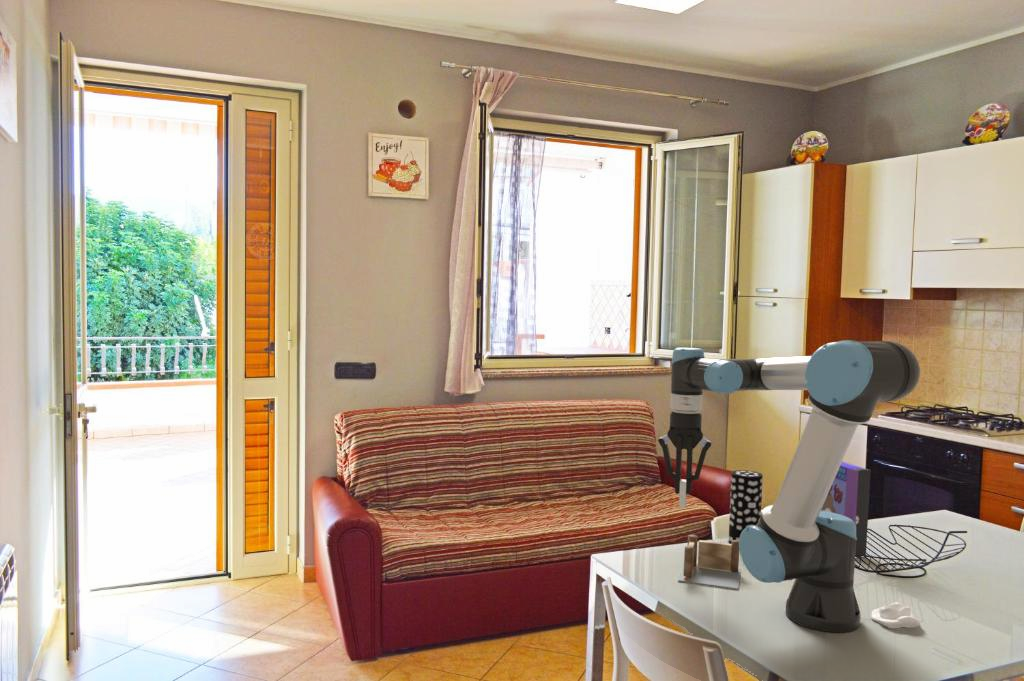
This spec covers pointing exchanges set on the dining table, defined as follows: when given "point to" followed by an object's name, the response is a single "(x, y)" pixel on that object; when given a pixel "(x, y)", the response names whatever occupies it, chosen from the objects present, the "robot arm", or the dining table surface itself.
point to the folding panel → (689, 559)
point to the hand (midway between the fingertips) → (682, 506)
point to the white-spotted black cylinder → (744, 501)
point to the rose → (895, 616)
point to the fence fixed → (716, 554)
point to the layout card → (712, 577)
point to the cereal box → (851, 500)
